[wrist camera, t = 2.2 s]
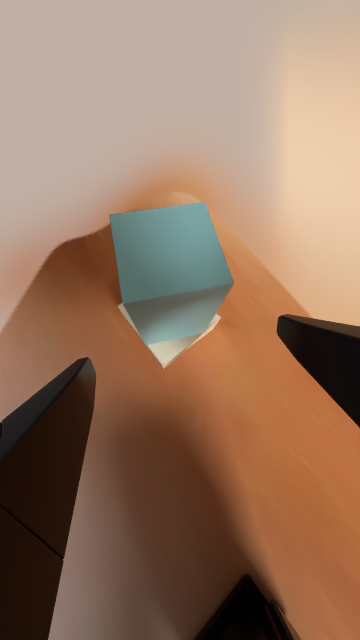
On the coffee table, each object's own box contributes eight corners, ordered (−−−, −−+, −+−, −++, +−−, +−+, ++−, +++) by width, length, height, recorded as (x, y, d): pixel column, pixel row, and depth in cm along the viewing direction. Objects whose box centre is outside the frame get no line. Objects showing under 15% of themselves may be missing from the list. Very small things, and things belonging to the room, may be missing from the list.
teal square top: (203, 333, 18) (234, 283, 10) (145, 345, 17) (122, 303, 9) (189, 282, 20) (204, 202, 11) (136, 292, 19) (109, 214, 11)
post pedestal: (163, 368, 20) (160, 358, 14) (125, 318, 22) (105, 288, 15) (213, 328, 22) (231, 302, 15) (174, 284, 24) (175, 244, 17)
